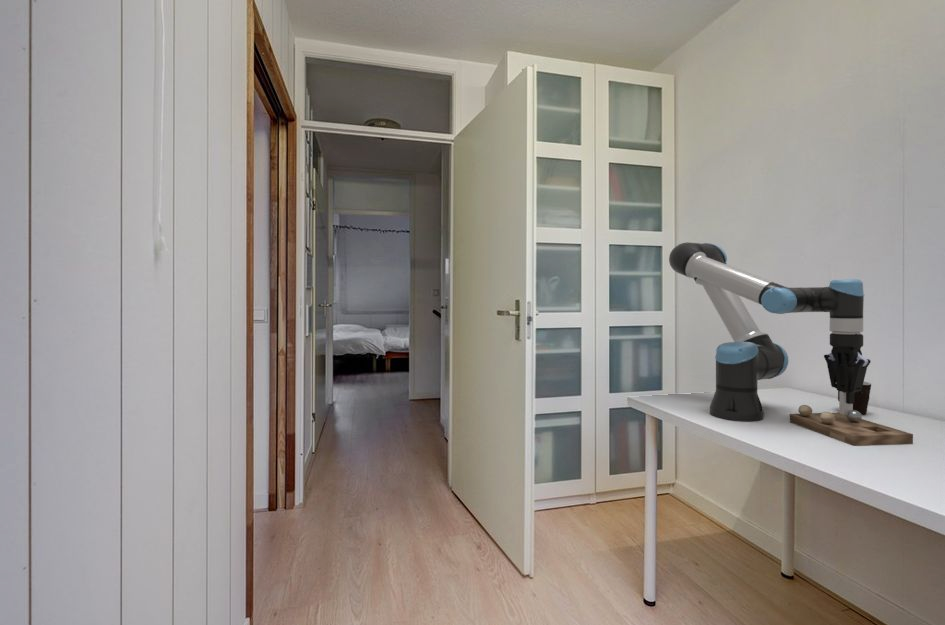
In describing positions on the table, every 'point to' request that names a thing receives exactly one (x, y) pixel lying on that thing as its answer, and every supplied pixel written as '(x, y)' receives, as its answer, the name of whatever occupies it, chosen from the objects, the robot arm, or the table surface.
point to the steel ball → (854, 416)
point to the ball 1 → (805, 410)
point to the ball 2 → (827, 417)
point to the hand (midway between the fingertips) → (846, 413)
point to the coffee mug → (862, 399)
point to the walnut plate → (853, 430)
